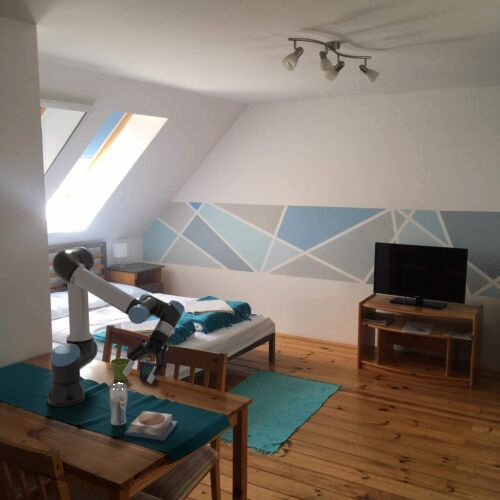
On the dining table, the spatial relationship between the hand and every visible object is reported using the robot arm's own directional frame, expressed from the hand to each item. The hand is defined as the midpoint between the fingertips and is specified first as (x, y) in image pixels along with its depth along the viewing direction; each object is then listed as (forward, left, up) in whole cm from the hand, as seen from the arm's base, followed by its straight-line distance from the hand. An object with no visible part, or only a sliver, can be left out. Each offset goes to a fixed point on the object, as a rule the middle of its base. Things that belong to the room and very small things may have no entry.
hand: (136, 378), depth 221 cm
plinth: (+11, -11, -14) cm, 21 cm away
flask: (-11, +36, -16) cm, 41 cm away
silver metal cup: (-4, -9, -16) cm, 18 cm away
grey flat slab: (+11, -11, -15) cm, 22 cm away
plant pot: (-24, +33, -16) cm, 44 cm away
